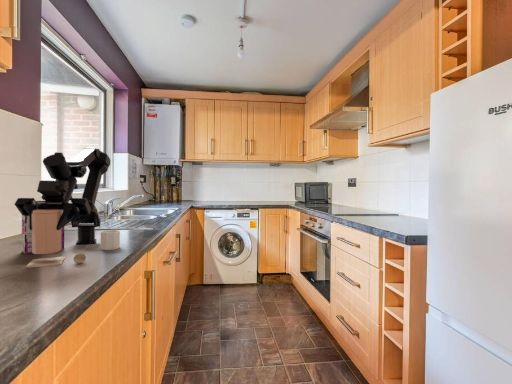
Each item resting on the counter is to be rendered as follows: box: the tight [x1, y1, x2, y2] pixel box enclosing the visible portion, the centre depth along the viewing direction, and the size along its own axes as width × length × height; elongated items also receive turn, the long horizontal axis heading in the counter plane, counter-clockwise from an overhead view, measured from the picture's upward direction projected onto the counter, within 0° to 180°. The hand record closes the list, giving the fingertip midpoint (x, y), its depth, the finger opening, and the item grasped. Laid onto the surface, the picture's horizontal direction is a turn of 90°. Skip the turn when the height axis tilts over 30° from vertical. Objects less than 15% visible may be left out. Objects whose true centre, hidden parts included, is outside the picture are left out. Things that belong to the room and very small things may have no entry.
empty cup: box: [100, 229, 121, 251], centre depth 102 cm, size 6×6×6 cm
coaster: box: [25, 256, 66, 269], centre depth 82 cm, size 8×8×1 cm
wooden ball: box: [73, 252, 87, 265], centre depth 82 cm, size 3×3×3 cm
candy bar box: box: [21, 210, 65, 255], centre depth 96 cm, size 11×5×16 cm, turn 141°
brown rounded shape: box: [31, 209, 62, 255], centre depth 82 cm, size 6×6×12 cm
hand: (44, 229), depth 81 cm, fingers closed on brown rounded shape, 6 cm apart
